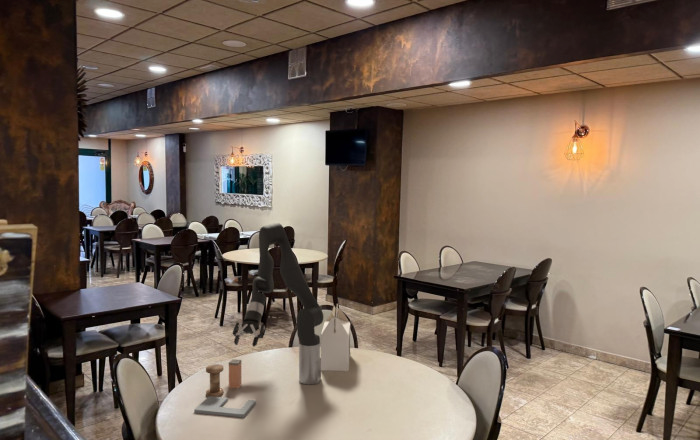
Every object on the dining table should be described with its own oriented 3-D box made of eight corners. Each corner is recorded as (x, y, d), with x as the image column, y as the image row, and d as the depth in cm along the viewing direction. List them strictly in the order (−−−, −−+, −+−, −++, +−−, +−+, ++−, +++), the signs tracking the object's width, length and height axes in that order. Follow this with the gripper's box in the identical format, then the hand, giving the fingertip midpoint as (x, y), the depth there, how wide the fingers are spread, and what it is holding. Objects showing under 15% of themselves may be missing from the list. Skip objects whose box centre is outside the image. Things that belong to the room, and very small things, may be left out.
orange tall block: (241, 384, 204) (241, 359, 204) (237, 388, 200) (237, 363, 200) (232, 383, 205) (232, 359, 204) (228, 387, 201) (228, 362, 200)
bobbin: (226, 390, 198) (226, 365, 197) (218, 398, 191) (218, 371, 190) (211, 389, 199) (210, 363, 198) (203, 396, 192) (202, 369, 191)
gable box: (324, 354, 243) (324, 301, 241) (349, 355, 242) (350, 301, 241) (320, 371, 221) (320, 312, 219) (348, 371, 220) (349, 313, 219)
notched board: (255, 403, 186) (255, 400, 186) (243, 417, 175) (243, 414, 174) (209, 398, 190) (209, 396, 190) (194, 412, 178) (194, 409, 178)
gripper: (237, 308, 221) (227, 340, 211) (266, 310, 219) (257, 342, 208) (242, 316, 227) (232, 347, 216) (270, 318, 224) (261, 349, 214)
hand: (244, 345), depth 212 cm, fingers open, 8 cm apart
